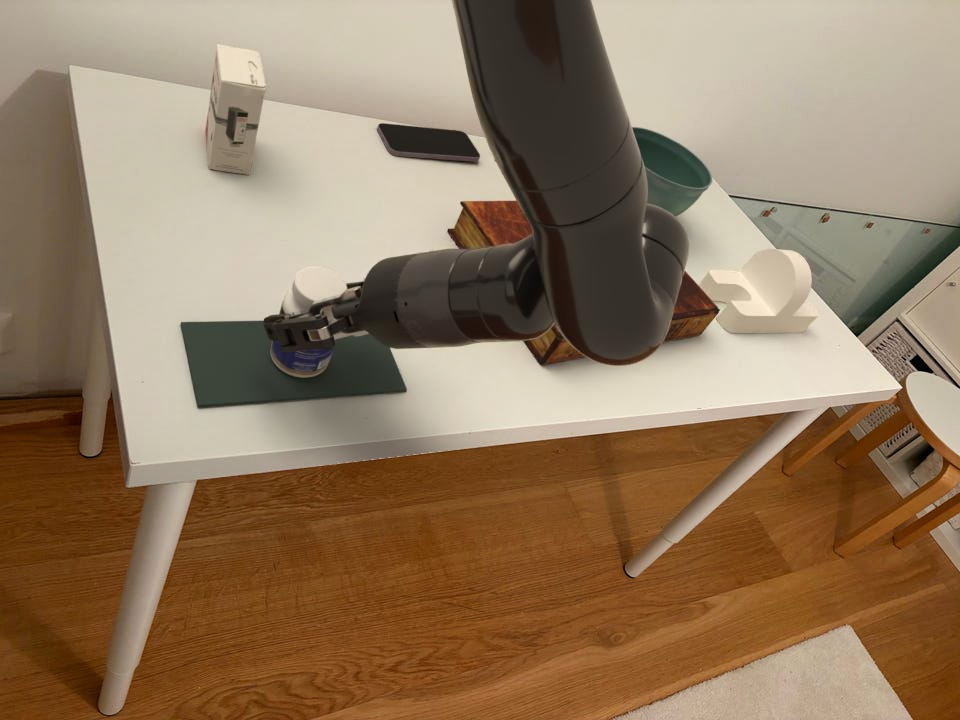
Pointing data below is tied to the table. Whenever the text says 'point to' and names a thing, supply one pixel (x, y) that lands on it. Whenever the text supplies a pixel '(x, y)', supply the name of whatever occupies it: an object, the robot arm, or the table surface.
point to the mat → (256, 379)
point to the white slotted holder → (764, 294)
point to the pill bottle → (300, 297)
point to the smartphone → (427, 142)
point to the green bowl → (671, 172)
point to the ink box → (234, 109)
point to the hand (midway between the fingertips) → (305, 311)
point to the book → (510, 225)
